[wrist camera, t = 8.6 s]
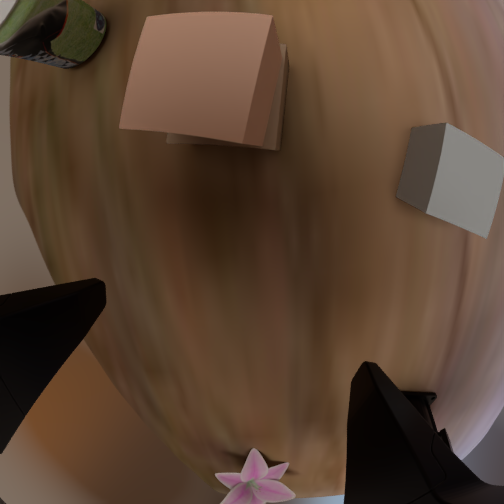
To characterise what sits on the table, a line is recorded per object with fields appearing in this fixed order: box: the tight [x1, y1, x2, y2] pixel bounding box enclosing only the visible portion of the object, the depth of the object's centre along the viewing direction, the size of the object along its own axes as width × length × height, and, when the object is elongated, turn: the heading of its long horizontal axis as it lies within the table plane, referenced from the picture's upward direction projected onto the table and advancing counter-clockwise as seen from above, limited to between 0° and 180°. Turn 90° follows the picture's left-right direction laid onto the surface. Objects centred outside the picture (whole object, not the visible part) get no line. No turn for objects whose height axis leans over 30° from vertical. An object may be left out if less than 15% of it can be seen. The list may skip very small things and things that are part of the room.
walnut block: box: [166, 44, 289, 151], centre depth 14 cm, size 6×6×4 cm
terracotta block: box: [119, 12, 282, 146], centre depth 10 cm, size 5×5×5 cm
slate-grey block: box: [396, 123, 504, 239], centre depth 13 cm, size 5×5×5 cm
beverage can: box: [0, 0, 106, 69], centre depth 9 cm, size 6×7×12 cm
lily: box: [215, 448, 295, 504], centre depth 28 cm, size 12×12×10 cm
